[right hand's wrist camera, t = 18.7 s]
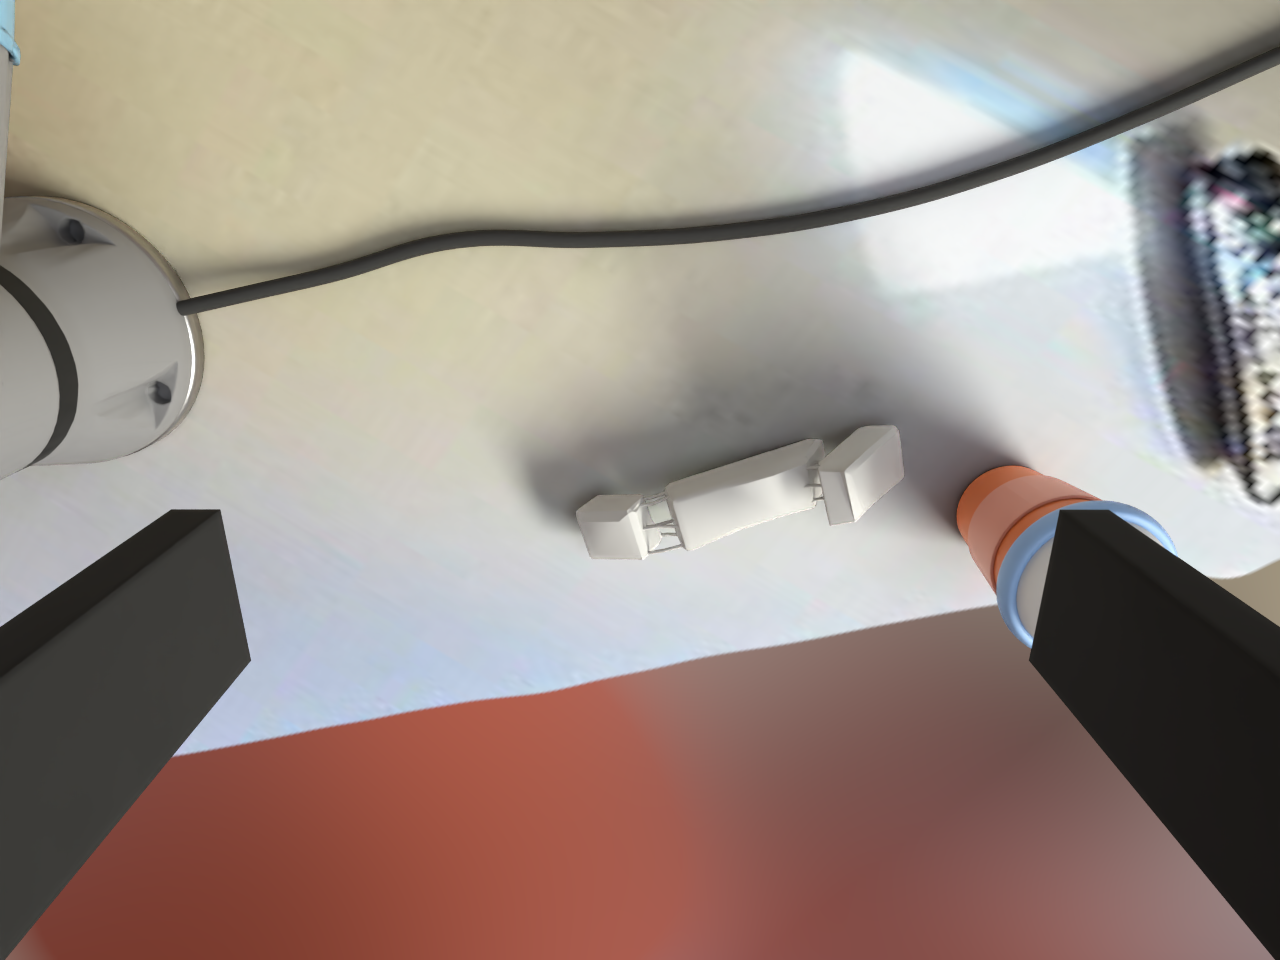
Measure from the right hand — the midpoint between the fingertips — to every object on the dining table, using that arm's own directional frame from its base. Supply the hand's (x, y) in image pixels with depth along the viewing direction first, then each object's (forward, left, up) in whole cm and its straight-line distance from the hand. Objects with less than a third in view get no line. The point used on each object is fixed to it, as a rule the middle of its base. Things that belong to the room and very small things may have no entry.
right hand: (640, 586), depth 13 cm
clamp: (-2, +13, -36) cm, 38 cm away
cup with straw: (-18, +20, -36) cm, 45 cm away
